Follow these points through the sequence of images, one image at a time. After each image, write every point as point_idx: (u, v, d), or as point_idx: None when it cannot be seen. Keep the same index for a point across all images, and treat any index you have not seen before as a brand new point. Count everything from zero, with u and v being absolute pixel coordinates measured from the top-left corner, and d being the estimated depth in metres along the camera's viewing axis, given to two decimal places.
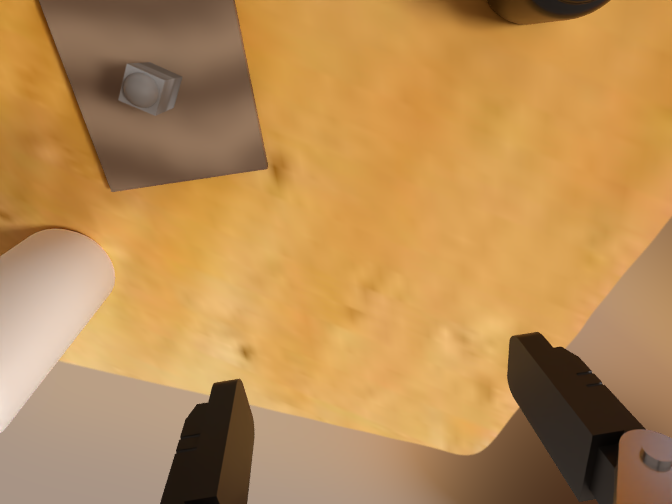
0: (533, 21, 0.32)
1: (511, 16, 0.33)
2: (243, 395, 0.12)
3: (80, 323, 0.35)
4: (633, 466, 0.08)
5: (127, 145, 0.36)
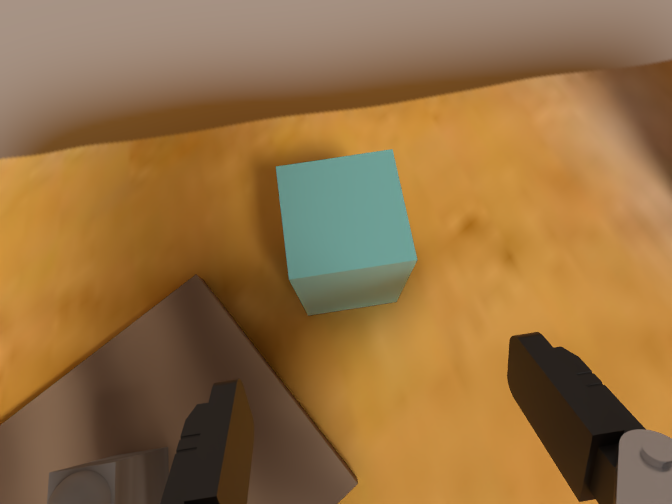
0: None
1: None
2: (243, 395, 0.12)
3: None
4: (633, 466, 0.08)
5: (26, 467, 0.21)
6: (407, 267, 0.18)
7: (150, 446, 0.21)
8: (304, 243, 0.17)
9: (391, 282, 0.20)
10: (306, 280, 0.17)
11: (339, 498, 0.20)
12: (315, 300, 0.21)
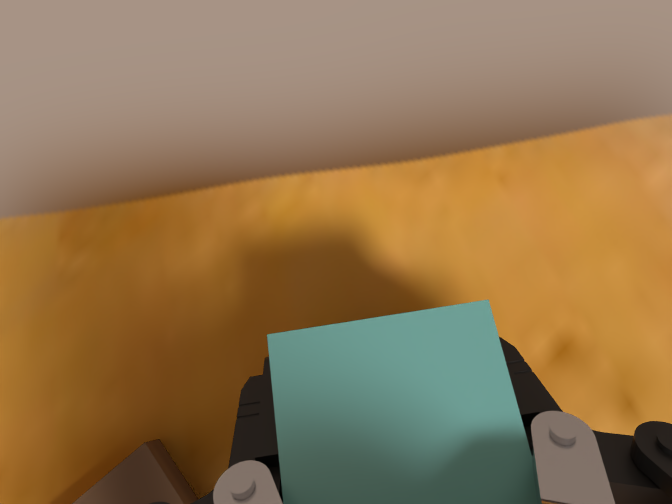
0: None
1: None
2: None
3: None
4: (546, 449, 0.08)
5: None
6: None
7: None
8: None
9: None
10: None
11: None
12: None
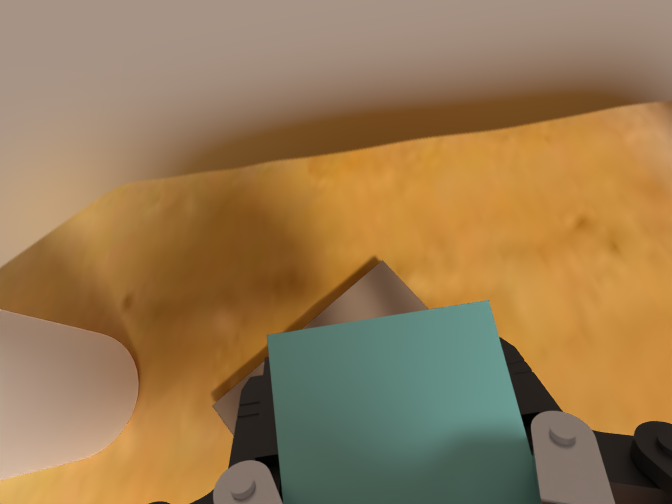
0: None
1: None
2: None
3: None
4: (546, 449, 0.08)
5: None
6: None
7: None
8: None
9: None
10: None
11: None
12: None
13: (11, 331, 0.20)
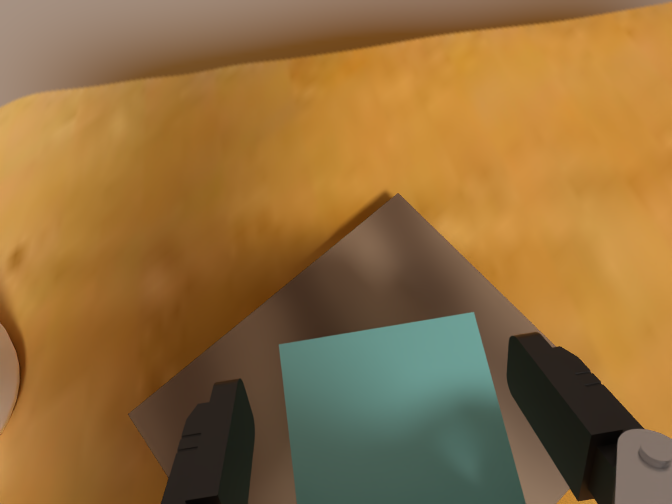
0: None
1: None
2: (244, 394, 0.12)
3: None
4: (632, 465, 0.08)
5: None
6: None
7: None
8: (331, 502, 0.10)
9: None
10: None
11: None
12: None
13: None
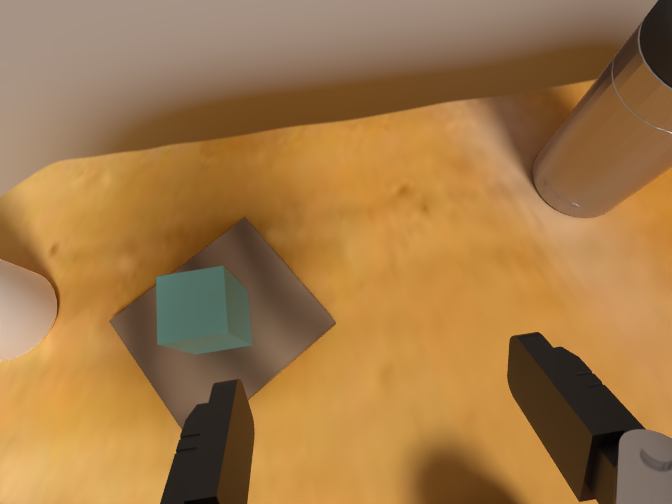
0: None
1: None
2: (243, 395, 0.12)
3: None
4: (633, 466, 0.08)
5: None
6: (227, 335, 0.31)
7: None
8: (167, 323, 0.31)
9: (229, 339, 0.33)
10: (169, 343, 0.31)
11: (325, 329, 0.38)
12: (189, 349, 0.34)
13: None
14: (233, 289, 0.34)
